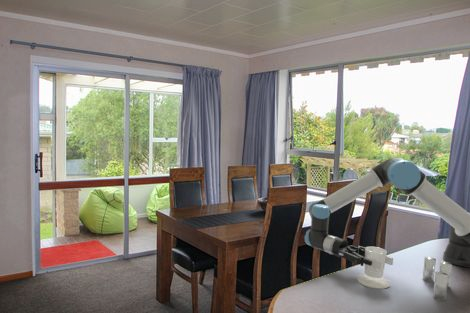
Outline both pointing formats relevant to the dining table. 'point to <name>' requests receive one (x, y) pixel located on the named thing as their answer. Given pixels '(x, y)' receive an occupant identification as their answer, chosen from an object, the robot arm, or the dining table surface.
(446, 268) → the cylinder
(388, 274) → the dining table surface
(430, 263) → the cylinder
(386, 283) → the coaster
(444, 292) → the cylinder
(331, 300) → the dining table surface
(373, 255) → the white cup
